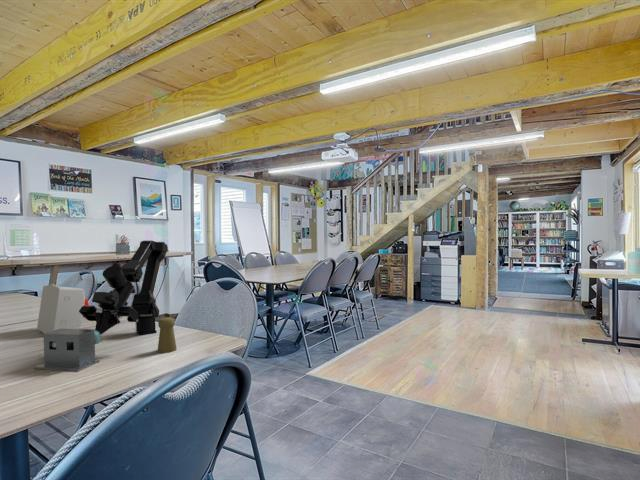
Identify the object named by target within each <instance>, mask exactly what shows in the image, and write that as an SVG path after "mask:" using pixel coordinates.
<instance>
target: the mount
mask: <svg viewBox="0 0 640 480" xmlns="http://www.w3.org/2000/svg"><path fill="white" fill-rule="evenodd" d="M94 330H95V329H92V328H91V329H87V328H86V329H85V328H79V329H58V330H54V331H51V332H47V333H43V361H44V362H43V363H40V364H39V365H36V366H33V369H34V370H44V371H45V370H47V371H50V370H51V371H66V372H80V371H82V370H83V371H84V369H87V368H89V367H91V366H94V365H95V364H98V363H100V359H96V347H95V346H96V345H95V336H94ZM53 342H56V347H55V348H54V347H53V346H52V343H53ZM73 343H74V345H73Z"/></svg>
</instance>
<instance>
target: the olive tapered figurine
mask: <svg viewBox="0 0 640 480" xmlns="http://www.w3.org/2000/svg"><path fill="white" fill-rule="evenodd" d="M157 324H158V328H159V334H158V335H159V336H158V342H157V353H159V354H167V353H168V354H169V353H172V352H176V351H177V344H176V337H175V331H174V330H175V329H174V326H175V324H176V322H175V319H174V317H172V316H171V317H170V316H167V317H161V318H160V319H158V323H157Z"/></svg>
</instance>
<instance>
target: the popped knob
mask: <svg viewBox="0 0 640 480" xmlns="http://www.w3.org/2000/svg"><path fill="white" fill-rule="evenodd" d="M93 330H94V336H95V346H96V345H98V344H99V343H101V342H102V334H100V333H99V332H98V331H96V330H95V329H93ZM73 345H74V343H73Z"/></svg>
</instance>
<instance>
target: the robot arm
mask: <svg viewBox="0 0 640 480" xmlns="http://www.w3.org/2000/svg"><path fill="white" fill-rule="evenodd" d="M168 251H169V247H168V244H167V243H165V241H155V240H141V241H140V242H139V247H137V250H136V251H135V252H134V254H133V255H132V257H131V258H130V260H128V262H126V263H123V264H122V265H121V264H120V263H112V265H111V266H109V267H107V268H105V269H104V270H103V271H102V276H103V278H104V280H105V282H107V285H108V286H109V287H110V288H111V289H112V290H110V291H108V292H107V291H94V293H93V296H92V298H91V302H92V303H97V304H98V308H97V307H96V306H95V305H89V306H82V307H81V309H80V310H79V312H80V313H81V314H82V315H83V316H84V319H85V320H87V321H89V322H95V329H94V330H96V331H98V332H99V333H100V334H101V335H102V334H104V333H105V332H107V331H109V330H110V329H111V328H113V327H114V326H116V325H118V324H121V319H122V318H123V317H127V318H126V320H127V321H128V323H135V332H136V334H137V335H138V336H141V335H150V334H154V333H157V330H156V318H159V316H160V309H159V308H158V306H157V302H156V301H157V300H156V298H155V296H154V291H155V286H156V282H157V277H158V272H159V267H160V263H162V261H163V260H164V259H165V257H166V255H167V253H168ZM145 264H146V265H145ZM144 265H145V270H144V273H143V268H144ZM143 274H144V275H143ZM142 277H143V279H142ZM141 280H142V282H141V287H140V291H139V292H138V293H136V289H135V286H134V285H133V283H139V282H140V281H141ZM132 294H134V295H133V298H132V301H131V305H129V302H128V300H129V298H130V296H131V295H132Z"/></svg>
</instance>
